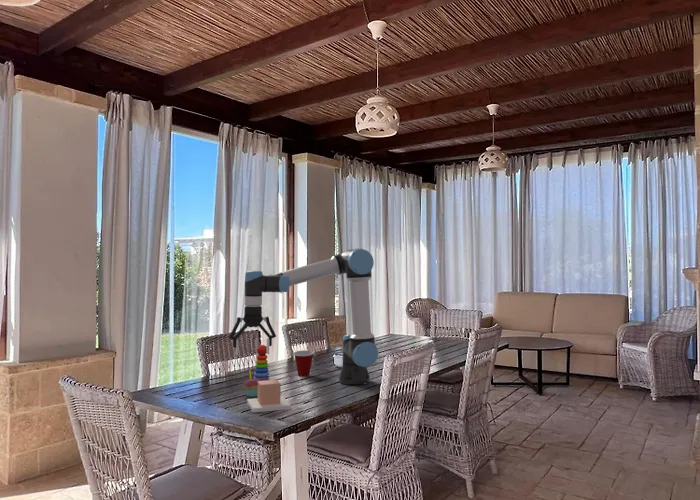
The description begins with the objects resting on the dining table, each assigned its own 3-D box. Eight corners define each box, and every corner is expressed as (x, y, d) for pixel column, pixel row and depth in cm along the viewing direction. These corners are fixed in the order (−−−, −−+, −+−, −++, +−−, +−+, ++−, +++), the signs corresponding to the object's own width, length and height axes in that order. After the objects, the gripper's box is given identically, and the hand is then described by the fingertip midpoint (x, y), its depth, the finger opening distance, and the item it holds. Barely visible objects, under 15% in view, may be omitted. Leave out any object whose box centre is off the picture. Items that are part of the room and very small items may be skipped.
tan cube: (276, 399, 217) (276, 379, 217) (280, 403, 210) (280, 383, 210) (257, 400, 214) (257, 381, 214) (260, 405, 207) (260, 384, 208)
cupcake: (253, 398, 223) (253, 370, 223) (238, 396, 227) (238, 368, 228) (266, 394, 230) (266, 367, 230) (252, 391, 235) (252, 365, 235)
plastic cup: (289, 376, 266) (289, 353, 267) (299, 372, 276) (299, 349, 277) (308, 378, 262) (308, 354, 262) (317, 374, 272) (317, 351, 272)
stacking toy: (266, 386, 244) (266, 346, 245) (250, 385, 246) (250, 346, 246) (272, 383, 252) (272, 344, 253) (256, 382, 254) (256, 343, 254)
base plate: (282, 399, 222) (282, 396, 222) (290, 409, 207) (290, 405, 207) (247, 402, 217) (247, 399, 217) (252, 412, 202) (252, 408, 202)
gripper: (279, 304, 237) (278, 351, 237) (223, 305, 229) (222, 354, 229) (283, 306, 230) (282, 354, 230) (225, 306, 222) (224, 357, 222)
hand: (252, 354), depth 229 cm, fingers open, 13 cm apart
